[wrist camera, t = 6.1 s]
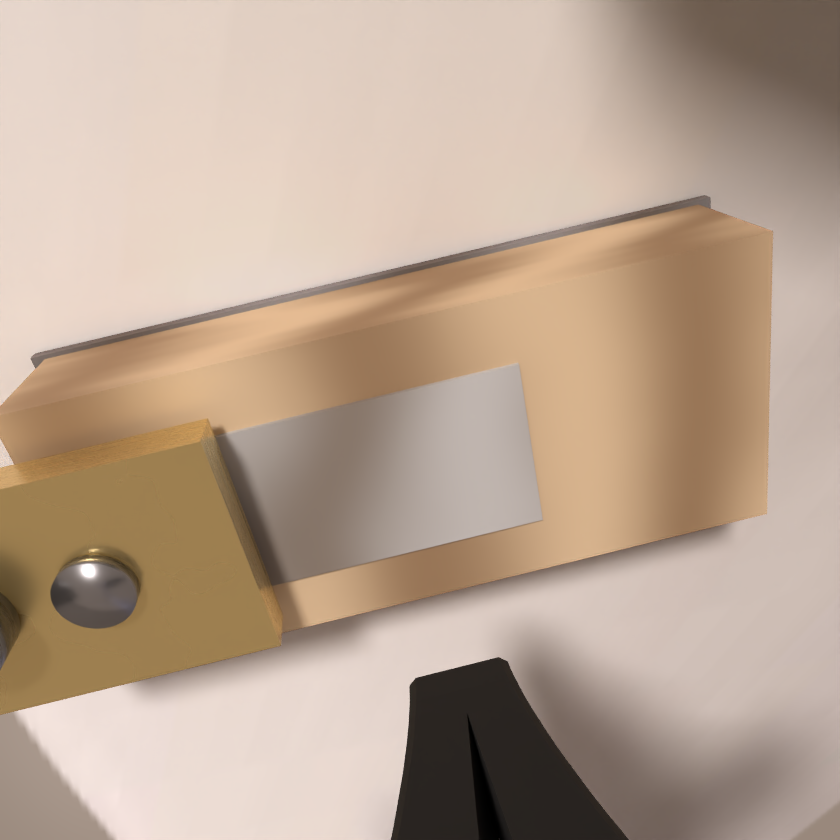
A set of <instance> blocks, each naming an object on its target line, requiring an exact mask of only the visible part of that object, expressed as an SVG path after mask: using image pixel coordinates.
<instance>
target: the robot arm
mask: <svg viewBox="0 0 840 840" xmlns="http://www.w3.org/2000/svg"><path fill="white" fill-rule="evenodd" d="M391 840H629V839H628V838H627V837H626V836H625V835H624V833H623V832H622V831H621V830H620V829H619V827H618V826H617V825H616V824H615V823H614V821H613V820H612V819H611V818H610V816H609V815H608V814H607V813H606V812H605V810H604V809H603V808H602V806H601V805H600V804H599V803H598V801H597V800H596V799H595V798H594V796H593V795H592V794H591V792H590V791H589V790H588V788H587V787H586V786H585V784H584V783H583V782H582V780H581V779H580V778H579V776H578V775H577V774H576V772H575V771H574V770H573V768H572V767H571V765H570V764H569V763H568V761H567V760H566V759H565V757H564V756H563V755H562V753H561V752H560V750H559V749H558V748H557V746H556V745H555V743H554V742H553V740H552V739H551V737H550V736H549V734H548V733H547V731H546V730H545V728H544V727H543V725H542V724H541V722H540V720H539V719H538V717H537V716H536V714H535V713H534V711H533V709H532V708H531V706H530V704H529V703H528V701H527V699H526V698H525V696H524V694H523V692H522V691H521V689H520V687H519V685H518V683H517V681H516V679H515V677H514V675H513V673H512V671H511V669H510V666H509V664H508V662H507V661H505V660H503V659H501V658H499V657H498V658H494V659H490V660H486V661H482V662H478V663H474V664H470V665H466V666H462V667H458V668H454V669H450V670H446V671H442V672H438V673H434V674H430V675H426V676H422V677H418V678H415V680H414V681H413V682H412V683H411V685H410V711H409V727H408V738H407V747H406V754H405V762H404V770H403V776H402V782H401V788H400V794H399V799H398V805H397V811H396V816H395V822H394V828H393V833H392V837H391Z"/></svg>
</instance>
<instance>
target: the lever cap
mask: <svg viewBox="0 0 840 840" xmlns="http://www.w3.org/2000/svg"><path fill="white" fill-rule="evenodd" d="M282 624H283V613H282V610H281V608H280V605H279V603H278V600H277V597H276V595H275V592H274V590H273V587H272V584H271V582H270V579H269V576H268V574H267V571H266V569H265V566H264V563H263V561H262V558H261V556H260V553H259V550H258V548H257V545H256V543H255V540H254V537H253V535H252V532H251V529H250V527H249V524H248V522H247V519H246V516H245V514H244V511H243V509H242V506H241V503H240V501H239V498H238V495H237V493H236V490H235V488H234V485H233V482H232V480H231V477H230V475H229V472H228V469H227V467H226V464H225V462H224V459H223V456H222V454H221V451H220V448H219V446H218V443H217V441H216V438H215V435H214V433H213V430H212V428H211V425H210V422H209V420H208V418H206V419H202V420H198V421H194V422H190V423H185V424H181V425H177V426H173V427H169V428H164V429H160V430H156V431H152V432H148V433H144V434H139V435H135V436H131V437H127V438H123V439H119V440H114V441H110V442H106V443H102V444H98V445H93V446H89V447H85V448H81V449H77V450H73V451H68V452H64V453H60V454H56V455H52V456H48V457H43V458H39V459H35V460H31V461H27V462H22V463H18V464H14V465H10V466H6V467H2V468H0V715H2V714H6V713H10V712H14V711H18V710H22V709H26V708H30V707H34V706H38V705H42V704H46V703H50V702H55V701H59V700H63V699H67V698H71V697H75V696H79V695H83V694H87V693H91V692H95V691H99V690H103V689H107V688H111V687H115V686H119V685H124V684H128V683H132V682H136V681H140V680H144V679H148V678H152V677H156V676H160V675H164V674H168V673H172V672H176V671H180V670H184V669H188V668H193V667H197V666H201V665H205V664H209V663H213V662H217V661H221V660H225V659H229V658H233V657H237V656H241V655H245V654H249V653H253V652H257V651H262V650H266V649H270V648H274V647H278V646H281V638H282Z"/></svg>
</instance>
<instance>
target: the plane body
mask: <svg viewBox="0 0 840 840" xmlns="http://www.w3.org/2000/svg"><path fill="white" fill-rule="evenodd" d="M772 250H773V231H771V230H768V229H765V228H762V227H760V226H757V225H754V224H751V223H748V222H746V221H743V220H740V219H737V218H735V217H732V216H729V215H726V214H723V213H721V212H718V211H715V210H712V209H711V205H710V197H708V196H705V195H704V196H700V197H696V198H692V199H687V200H683V201H679V202H675V203H670V204H666V205H662V206H658V207H654V208H649V209H645V210H641V211H637V212H632V213H628V214H624V215H620V216H615V217H611V218H607V219H603V220H599V221H594V222H590V223H586V224H582V225H577V226H573V227H569V228H565V229H560V230H556V231H552V232H548V233H544V234H539V235H535V236H531V237H527V238H522V239H518V240H514V241H510V242H505V243H501V244H497V245H493V246H489V247H484V248H480V249H476V250H472V251H467V252H463V253H459V254H455V255H450V256H446V257H442V258H438V259H434V260H429V261H425V262H421V263H417V264H412V265H408V266H404V267H400V268H395V269H391V270H387V271H383V272H379V273H374V274H370V275H366V276H362V277H357V278H353V279H349V280H345V281H341V282H336V283H332V284H328V285H324V286H319V287H315V288H311V289H307V290H302V291H298V292H294V293H290V294H286V295H281V296H277V297H273V298H269V299H264V300H260V301H256V302H252V303H247V304H243V305H239V306H235V307H231V308H226V309H222V310H218V311H214V312H209V313H205V314H201V315H197V316H192V317H188V318H184V319H180V320H176V321H171V322H167V323H163V324H159V325H154V326H150V327H146V328H142V329H137V330H133V331H129V332H125V333H121V334H116V335H112V336H108V337H104V338H99V339H95V340H91V341H87V342H82V343H78V344H74V345H70V346H66V347H61V348H57V349H53V350H49V351H44V352H40V353H36V354H34V355H33V356H32V357H31V360H32V362H33V365H34V367H35V370H34V371H33V372H32V373H31V374H30V375H29V376H28V377H27V378H26V380H25V381H24V382H23V383H22V384H21V385H20V386H19V387H18V388H17V389H16V390H15V391H14V392H13V393H12V394H11V395H10V396H9V397H8V399H7V400H6V401H5V402H4V403H3V404H2V405H1V406H0V439H1V440H2V442H3V444H4V446H5V448H6V450H7V452H8V453H9V455H10V457H11V459H12V461H13V463H14V464H18V463H22V462H27V461H31V460H35V459H39V458H43V457H48V456H52V455H56V454H60V453H64V452H68V451H73V450H77V449H81V448H85V447H89V446H93V445H98V444H102V443H106V442H110V441H114V440H119V439H123V438H127V437H131V436H135V435H139V434H144V433H148V432H152V431H156V430H160V429H164V428H169V427H173V426H177V425H181V424H185V423H190V422H194V421H198V420H202V419H206V418H208V420H209V422H210V425H211V428H212V430H213V433H214V435H215V438H216V441H217V443H218V446H219V448H220V451H221V454H222V456H223V459H224V462H225V464H226V467H227V469H228V472H229V475H230V477H231V480H232V482H233V485H234V488H235V490H236V493H237V495H238V498H239V501H240V503H241V506H242V509H243V511H244V514H245V516H246V519H247V522H248V524H249V527H250V529H251V532H252V535H253V537H254V540H255V543H256V545H257V548H258V550H259V553H260V556H261V558H262V561H263V563H264V566H265V569H266V571H267V574H268V576H269V579H270V582H271V584H272V587H273V590H274V592H275V595H276V597H277V600H278V603H279V605H280V608H281V610H282V613H283V624H282V633H284V632H288V631H292V630H296V629H300V628H305V627H309V626H313V625H317V624H321V623H325V622H329V621H333V620H337V619H341V618H345V617H349V616H353V615H357V614H361V613H365V612H370V611H374V610H378V609H382V608H386V607H390V606H394V605H398V604H402V603H406V602H410V601H414V600H418V599H422V598H426V597H431V596H435V595H439V594H443V593H447V592H451V591H455V590H459V589H463V588H467V587H471V586H475V585H479V584H483V583H487V582H492V581H496V580H500V579H504V578H508V577H512V576H516V575H520V574H524V573H528V572H532V571H536V570H540V569H544V568H548V567H552V566H557V565H561V564H565V563H569V562H573V561H577V560H581V559H585V558H589V557H593V556H597V555H601V554H605V553H609V552H613V551H618V550H622V549H626V548H630V547H634V546H638V545H642V544H646V543H650V542H654V541H658V540H662V539H666V538H670V537H674V536H679V535H683V534H687V533H691V532H695V531H699V530H703V529H707V528H711V527H715V526H719V525H723V524H727V523H731V522H735V521H739V520H744V519H748V518H752V517H756V516H760V515H764V514H767V485H768V438H769V391H770V344H771V297H772Z"/></svg>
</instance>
